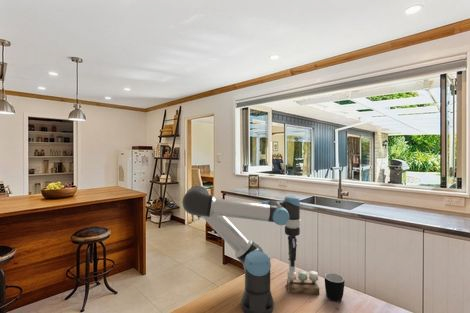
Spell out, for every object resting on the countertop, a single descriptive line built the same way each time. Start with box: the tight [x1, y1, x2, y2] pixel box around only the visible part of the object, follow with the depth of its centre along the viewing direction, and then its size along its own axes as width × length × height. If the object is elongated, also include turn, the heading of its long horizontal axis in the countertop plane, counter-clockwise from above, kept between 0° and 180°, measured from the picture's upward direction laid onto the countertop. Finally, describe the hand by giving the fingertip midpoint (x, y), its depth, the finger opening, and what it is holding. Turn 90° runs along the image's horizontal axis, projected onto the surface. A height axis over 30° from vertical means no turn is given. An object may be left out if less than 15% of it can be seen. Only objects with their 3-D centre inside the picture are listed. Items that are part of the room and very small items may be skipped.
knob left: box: [287, 270, 297, 283], centre depth 129 cm, size 4×4×5 cm
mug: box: [324, 272, 345, 302], centre depth 123 cm, size 12×9×10 cm
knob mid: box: [297, 270, 308, 284], centre depth 129 cm, size 4×4×5 cm
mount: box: [286, 278, 320, 295], centre depth 129 cm, size 15×8×3 cm, turn 86°
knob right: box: [308, 270, 319, 284], centre depth 128 cm, size 4×4×5 cm
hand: (292, 271), depth 129 cm, fingers closed
